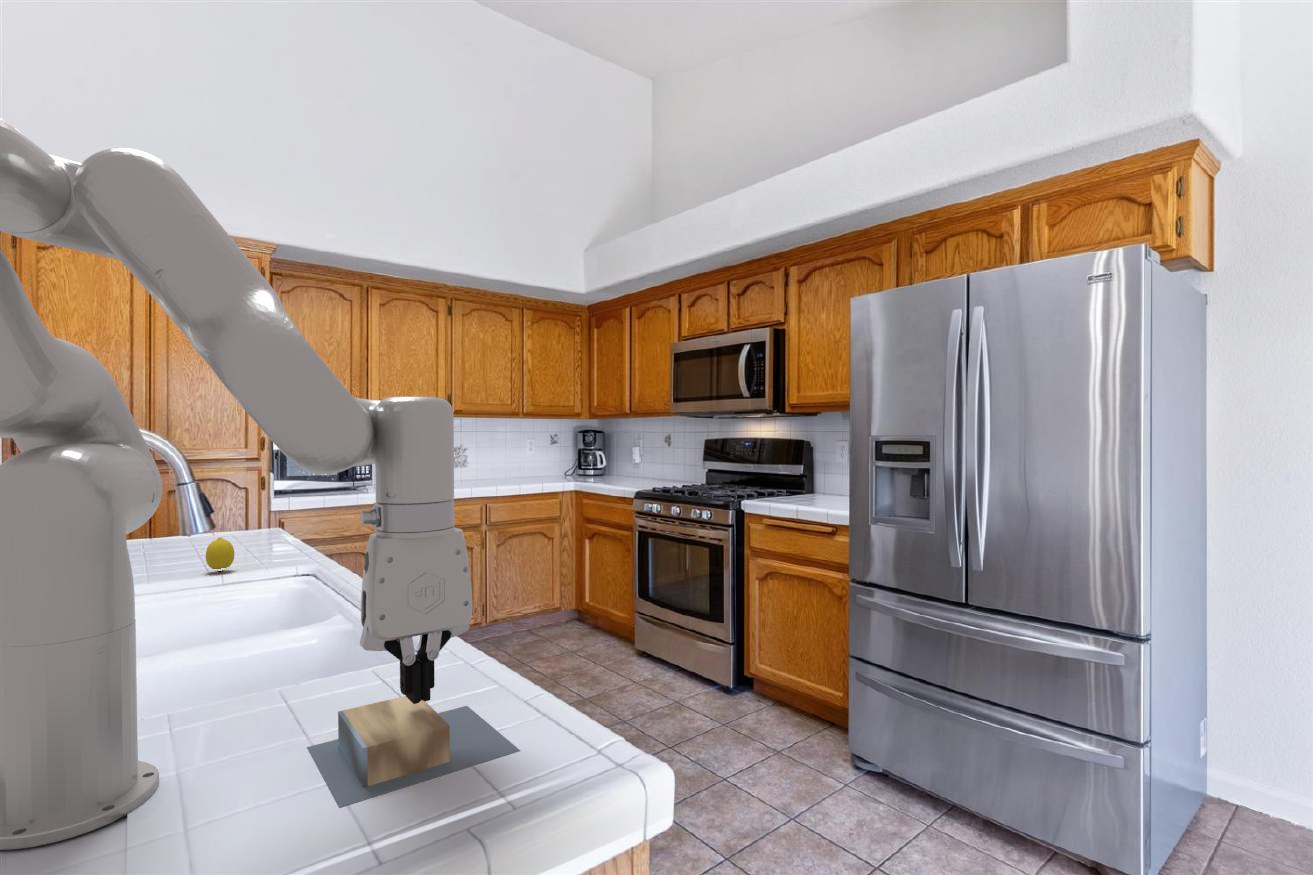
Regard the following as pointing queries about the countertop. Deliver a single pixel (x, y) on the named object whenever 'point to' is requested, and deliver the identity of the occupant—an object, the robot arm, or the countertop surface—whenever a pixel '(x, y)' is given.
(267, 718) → the countertop surface
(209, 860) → the countertop surface
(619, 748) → the countertop surface
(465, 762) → the mat
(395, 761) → the oak slab
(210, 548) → the lemon
